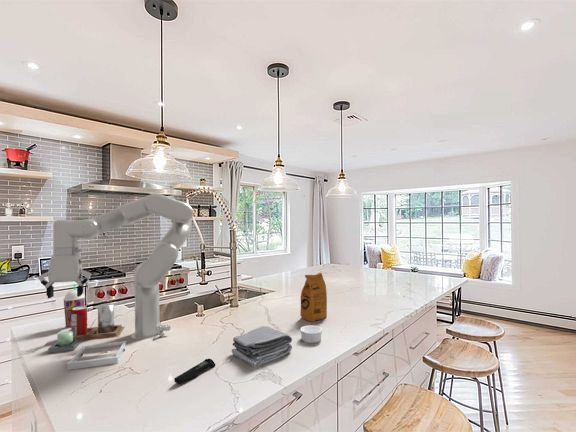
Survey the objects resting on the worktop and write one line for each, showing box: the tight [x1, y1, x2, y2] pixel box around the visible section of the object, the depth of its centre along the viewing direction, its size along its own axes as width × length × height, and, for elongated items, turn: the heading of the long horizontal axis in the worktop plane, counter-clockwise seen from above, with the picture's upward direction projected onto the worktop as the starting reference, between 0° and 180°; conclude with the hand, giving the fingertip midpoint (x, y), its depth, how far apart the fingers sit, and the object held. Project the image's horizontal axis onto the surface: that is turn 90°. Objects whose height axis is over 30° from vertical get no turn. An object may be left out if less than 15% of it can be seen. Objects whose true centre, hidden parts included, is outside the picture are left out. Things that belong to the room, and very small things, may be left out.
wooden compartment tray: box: [68, 324, 125, 342], centre depth 132 cm, size 22×13×3 cm, turn 107°
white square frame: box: [67, 340, 127, 370], centre depth 113 cm, size 15×15×2 cm
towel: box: [231, 325, 293, 368], centre depth 115 cm, size 15×18×8 cm
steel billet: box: [97, 302, 115, 333], centre depth 133 cm, size 6×6×12 cm
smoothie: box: [63, 283, 86, 328], centre depth 145 cm, size 8×8×20 cm
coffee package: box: [299, 272, 328, 323], centre depth 155 cm, size 10×12×22 cm
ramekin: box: [300, 324, 323, 344], centre depth 128 cm, size 9×9×4 cm
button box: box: [47, 338, 82, 354], centre depth 119 cm, size 8×8×3 cm
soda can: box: [70, 306, 88, 336], centre depth 130 cm, size 6×6×12 cm
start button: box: [56, 330, 73, 346], centre depth 119 cm, size 5×5×4 cm
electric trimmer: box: [173, 358, 216, 385], centre depth 100 cm, size 4×16×3 cm, turn 150°
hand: (65, 296), depth 119 cm, fingers open, 9 cm apart
